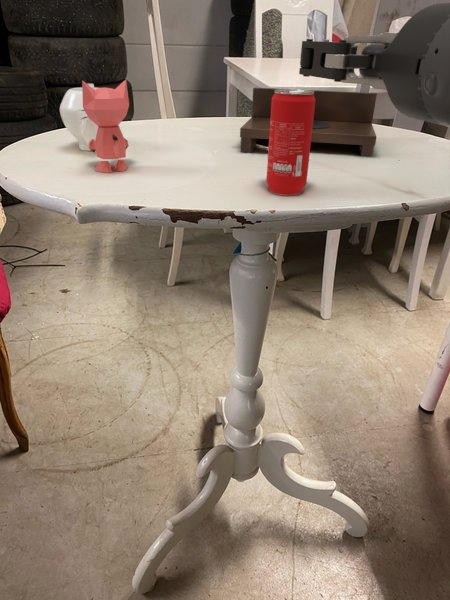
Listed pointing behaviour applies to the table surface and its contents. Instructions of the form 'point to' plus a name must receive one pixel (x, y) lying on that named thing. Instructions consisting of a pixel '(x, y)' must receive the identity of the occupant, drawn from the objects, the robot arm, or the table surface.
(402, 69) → the robot arm
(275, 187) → the beverage can
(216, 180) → the table surface
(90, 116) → the cat figurine
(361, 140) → the bench
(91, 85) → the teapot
